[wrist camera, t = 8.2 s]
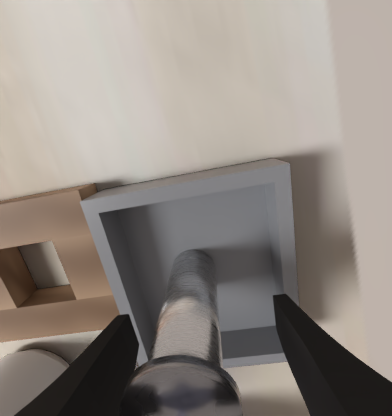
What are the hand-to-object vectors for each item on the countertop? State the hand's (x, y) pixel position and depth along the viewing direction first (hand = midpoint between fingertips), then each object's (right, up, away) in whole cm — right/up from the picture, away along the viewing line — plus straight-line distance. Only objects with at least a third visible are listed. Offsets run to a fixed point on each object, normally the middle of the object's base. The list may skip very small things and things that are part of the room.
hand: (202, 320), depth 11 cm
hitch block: (-11, +2, +6) cm, 12 cm away
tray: (0, +2, +5) cm, 5 cm away
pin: (0, +1, +4) cm, 5 cm away
